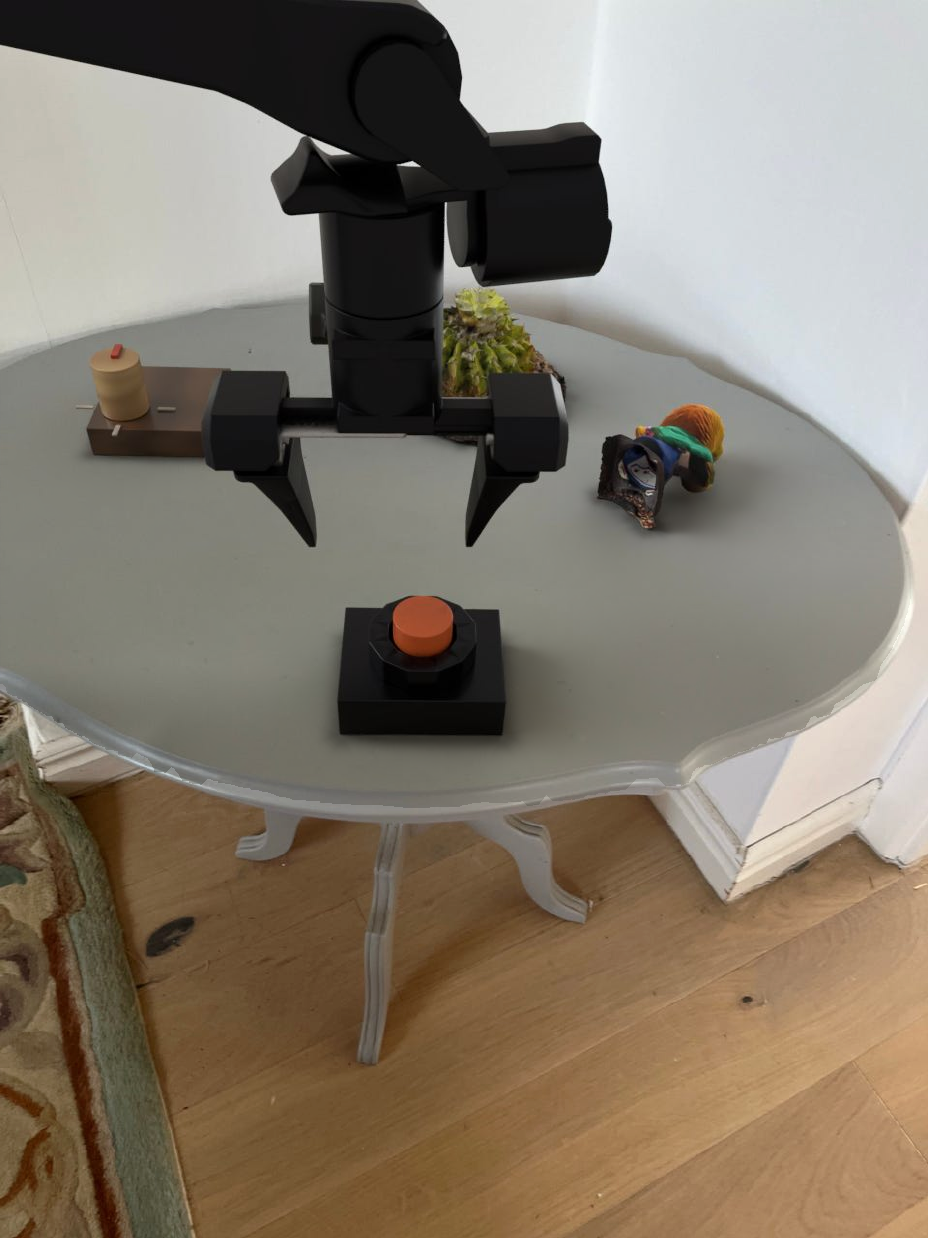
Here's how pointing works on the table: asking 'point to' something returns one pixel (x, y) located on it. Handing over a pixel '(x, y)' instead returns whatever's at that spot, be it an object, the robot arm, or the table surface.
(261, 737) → the table surface
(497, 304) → the cactus
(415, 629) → the button
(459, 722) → the button box
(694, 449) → the figurine
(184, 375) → the panel
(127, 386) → the knob
